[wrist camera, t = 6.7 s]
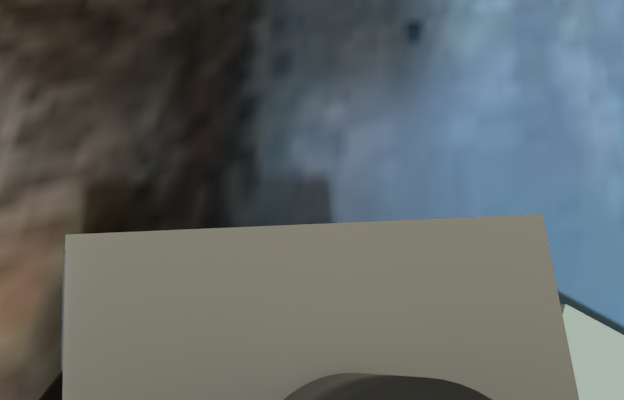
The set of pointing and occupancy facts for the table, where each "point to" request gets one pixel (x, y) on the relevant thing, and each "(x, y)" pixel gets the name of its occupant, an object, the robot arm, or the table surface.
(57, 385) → the robot arm
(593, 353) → the rubber mat
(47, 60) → the table surface
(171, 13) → the table surface
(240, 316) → the plug
